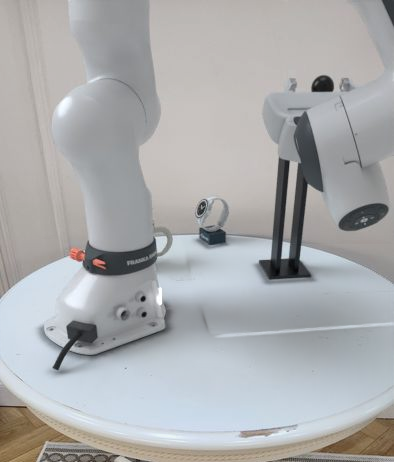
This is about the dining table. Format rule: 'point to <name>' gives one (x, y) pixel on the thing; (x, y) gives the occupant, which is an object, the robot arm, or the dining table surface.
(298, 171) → the stand
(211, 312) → the dining table surface
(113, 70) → the robot arm
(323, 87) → the lever
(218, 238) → the watch
